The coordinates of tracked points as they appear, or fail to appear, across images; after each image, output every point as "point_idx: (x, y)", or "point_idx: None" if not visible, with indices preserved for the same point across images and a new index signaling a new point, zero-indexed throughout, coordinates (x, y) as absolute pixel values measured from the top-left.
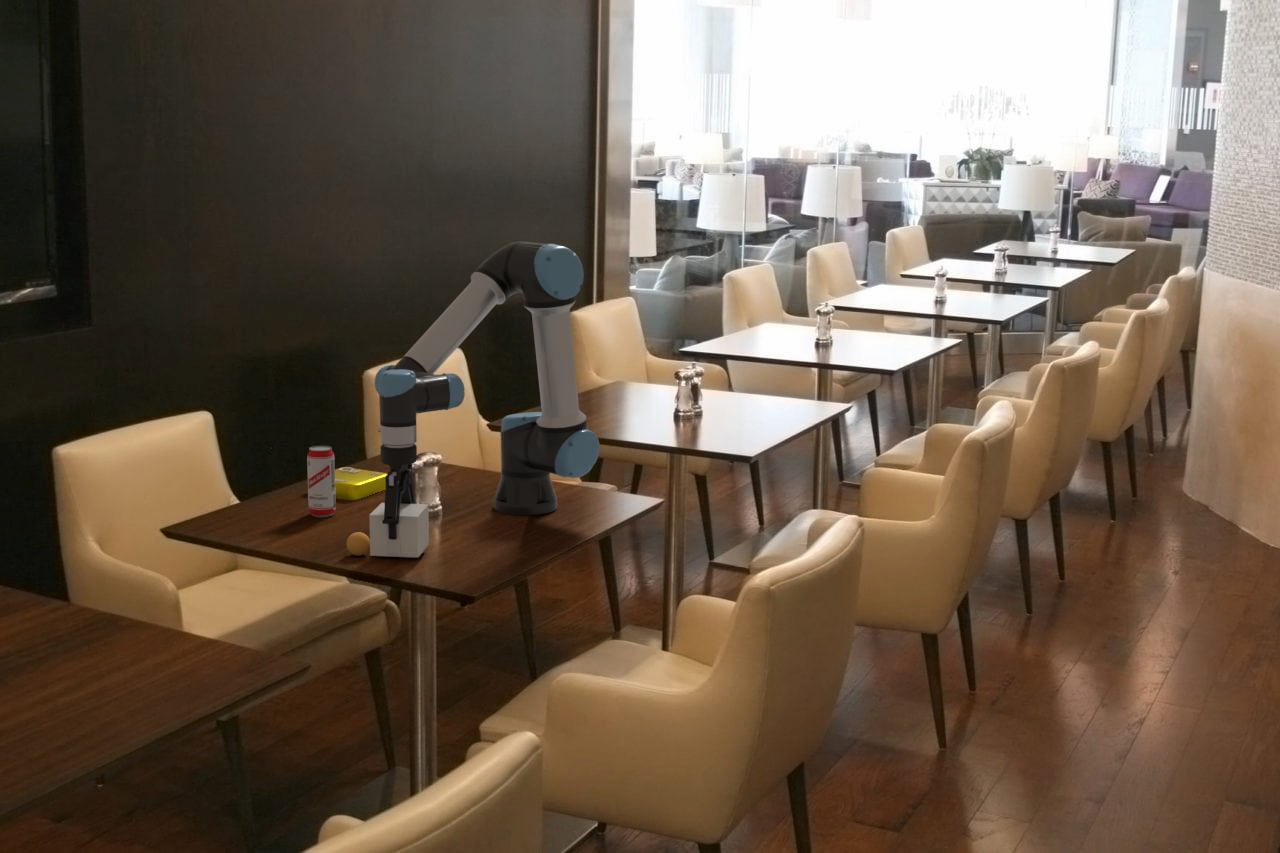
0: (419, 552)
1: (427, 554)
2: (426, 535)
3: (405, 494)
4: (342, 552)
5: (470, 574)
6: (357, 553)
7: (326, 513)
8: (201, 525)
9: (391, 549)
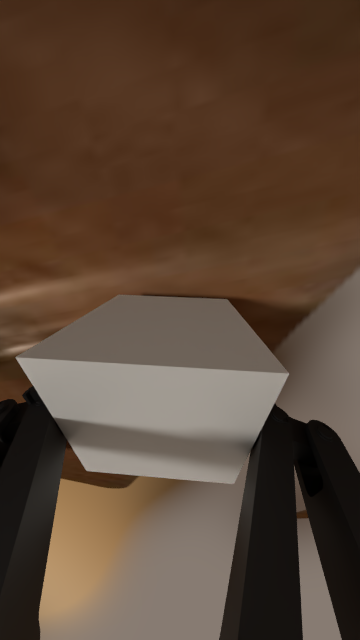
0: (215, 301)
1: (149, 289)
2: (132, 304)
3: (38, 499)
4: None
5: (338, 111)
6: None
7: None
8: (107, 483)
9: None
